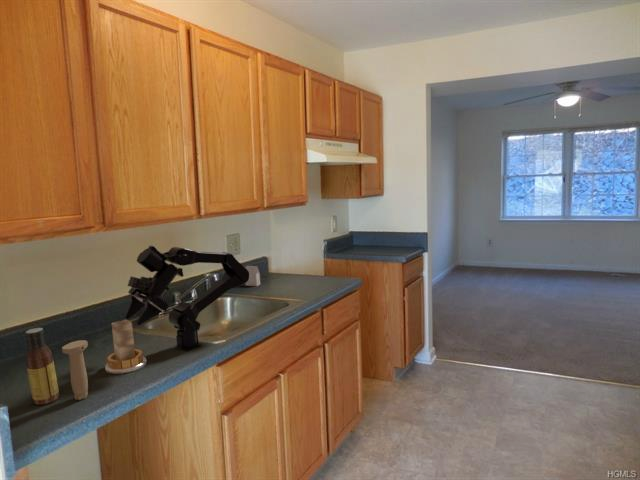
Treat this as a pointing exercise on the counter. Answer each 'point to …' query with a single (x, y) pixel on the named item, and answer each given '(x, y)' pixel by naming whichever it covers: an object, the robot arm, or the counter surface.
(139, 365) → the segmented gold bowl
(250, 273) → the small carton
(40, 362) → the sauce bottle
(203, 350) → the counter surface
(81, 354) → the handle
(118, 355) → the post
